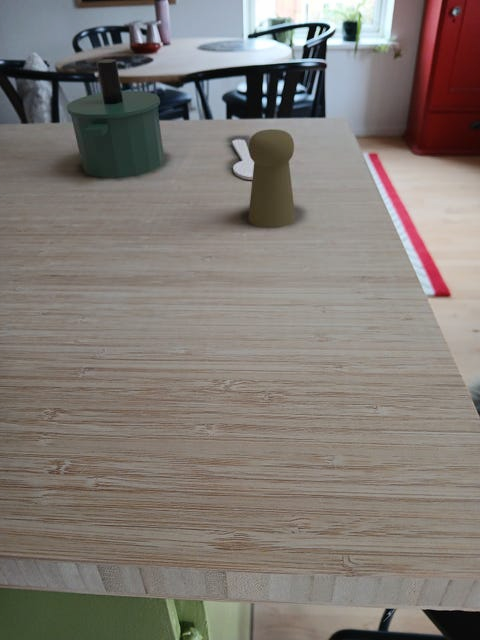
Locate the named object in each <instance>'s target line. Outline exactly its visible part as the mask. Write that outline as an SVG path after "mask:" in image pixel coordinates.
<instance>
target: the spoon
mask: <svg viewBox="0 0 480 640" xmlns="http://www.w3.org/2000/svg"><path fill="white" fill-rule="evenodd" d="M231 145H232V147H233V149H234V151H235V152H236V154H237V155H238V157H239V159H240V161H238V162H236V163H235V164H234V165H233V167H232V171H233V173H234V175H236V176H237V177H239V178H240V179H244V180H249V181H252V178H253V169H254V161H253V160H252V159H251V157H250V154H249V146H248V144H247V141H246V140H244V139H234V140H232V141H231Z"/></svg>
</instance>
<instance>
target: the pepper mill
mask: <svg viewBox="0 0 480 640" xmlns="http://www.w3.org/2000/svg"><path fill="white" fill-rule="evenodd" d="M248 150H249V154H250V157H251V159H252V160H253V161H254V169H253V178H252V180H251V188H250V189H251V190H250V198H249V199H250V200H249V210H248V221H249V223H250V224H252V225H254V226H256V227H259V228H265V229H277V228H283V227H286V226H289V225H291V224H292V223H294V221H295V220H296V211H295V205H294V204H295V203H294V195H293V194H294V193H293V184H292V177H291V167H290V160H291V159H292V158H293V155H294V152H295V143H294V139H293V137H292V135H291V134H290V133H289V132H288V131H285V130H282V129H273V128H272V129H263V130H259V131H257V132H255V133H254V134H252V135H251V137H250V138H249V144H248Z"/></svg>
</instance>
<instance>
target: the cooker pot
mask: <svg viewBox="0 0 480 640" xmlns="http://www.w3.org/2000/svg"><path fill="white" fill-rule="evenodd" d="M158 108H159V107H158V106H157V107H156V108H154V109H152V110H150V111H147V112H144V113H141V114H137V115H132V116H126V117H119V118H109V119H87V118H79V117H75V116H72V115H70V117H71V122H72V126H73V130H74V135H75V139H76V144H77V148H78V152H79V157H80V161H81V165H82V170H83V172H84V173H86V174H88V175H89V176H90V177H91V176H92V177H97V178H101V179H122V178H129V177H137V176H140V175H143V174H147V173H150V172H152V171H154V170H156V169H158V168H160V167H161V166H162V165H163V164H164V162H165V155H164V153H165V152H164V148H163V147H164V146H163V139H162V132H161V131H162V130H161V124H160V123H161V122H160V118H159V117H160V115H159V109H158Z"/></svg>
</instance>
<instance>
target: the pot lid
mask: <svg viewBox="0 0 480 640" xmlns="http://www.w3.org/2000/svg"><path fill="white" fill-rule="evenodd" d="M96 68H97V74H98V78H99V84H100V89H101V92H100V93H99V92H98V93H94V94H88V95H85V96H82V97H79V98H76V99H74V100H71V101H70V102H69V103H67V105H66V112H67V113H68V115H70V116H71V115H72V116H75V117H79V118H87V119H109V118H119V117H126V116H132V115H137V114H141V113H144V112H147V111H150V110H152V109H154V108H156V107H157V108H158V106H160V104H161V99H160V96H159V95H157V94H155V93H153V92H148V91H141V90H122V87H121V81H120V75H119V74H120V73H119V70H118V69H119V68H118V62H117V60H116V59H114V58H106V59H99V60H97V61H96Z"/></svg>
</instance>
